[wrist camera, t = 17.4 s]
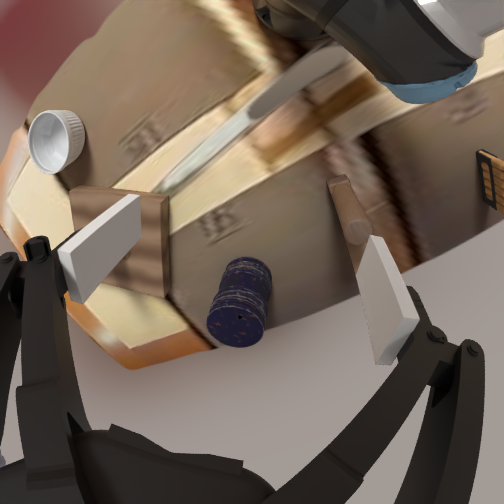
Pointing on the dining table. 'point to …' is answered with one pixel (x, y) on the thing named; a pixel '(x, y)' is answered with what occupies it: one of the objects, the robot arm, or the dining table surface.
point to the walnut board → (145, 250)
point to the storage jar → (241, 303)
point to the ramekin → (55, 140)
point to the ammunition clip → (491, 179)
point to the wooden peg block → (350, 218)
